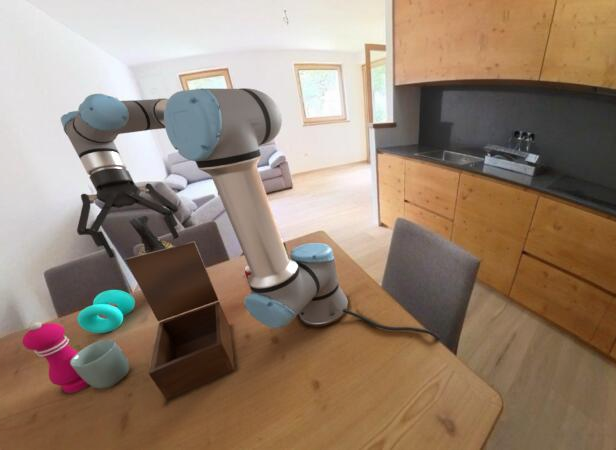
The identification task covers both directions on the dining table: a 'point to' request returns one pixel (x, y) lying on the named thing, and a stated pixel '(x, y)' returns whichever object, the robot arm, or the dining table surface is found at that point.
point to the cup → (101, 364)
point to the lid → (173, 280)
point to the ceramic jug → (148, 236)
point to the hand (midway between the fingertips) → (146, 246)
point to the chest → (191, 351)
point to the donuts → (106, 311)
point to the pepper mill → (54, 354)
